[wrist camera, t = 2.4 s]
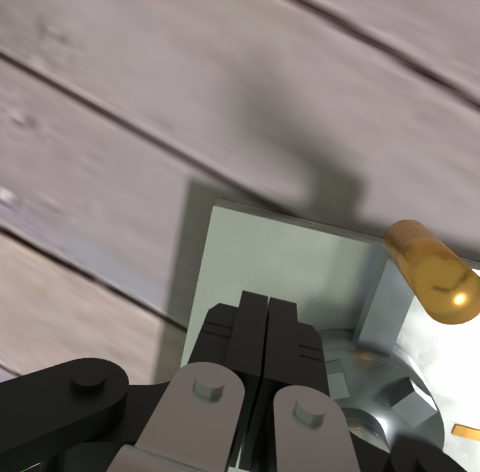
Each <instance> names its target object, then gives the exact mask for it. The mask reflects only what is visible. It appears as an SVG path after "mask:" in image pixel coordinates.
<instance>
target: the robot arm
mask: <svg viewBox="0 0 480 472" xmlns="http://www.w3.org/2000/svg"><path fill="white" fill-rule="evenodd" d="M324 362H325V358H324V353H323V345H322V338H321V337H320V335H319V334H318V333H317V331H316V330H315V329H314V327H313V326H312V325H308V324H304V323H300V322H298V320H297V303H294V302H290V301H286V300H282V299H278V298H273V297H270V299H269V302H268V296H265V295H261V294H257V293H253V292H249V291H245V290H242V294H241V298H240V303H239V307H235V306H231V305H227V304H223V303H218V304H217V305H215V306H214V307H212V308H210V309H209V310H208V312H207V314H206V317H205V320H204V323H203V325H202V327H201V330H200V332H199V335H198V337H197V340H196V342H195V345H194V348H193V350H192V353H191V355H190V358H189V360H188V363H187V365H185V366H183V367H181V368H180V369H179V370H178V371H177V372H176V373H175V374H174V376H173V378H172V380H171V381H168V382H166V383H162V384H156V385H129V380H128V376H127V374H126V373H125V371H124V370H123V369H122V368H121V367H120V366H118V365H117V364H115V363H113V362H111V361H108V360H104V359H99V358H81V359H75V360H72V361H68V362H65V363H62V364H59V365H55V366H52V367H49V368H46V369H43V370H40V371H36V372H33V373H30V374H27V375H24V376H20V377H17V378H14V379H11V380H8V381H5V382H1V383H0V472H21V471H23V470H25V469H27V468H29V467H31V466H33V465H36V464H38V463H40V464H38V465H36V466H34V467H32V468H30V469H28V470H25V471H23V472H228V469H229V467H233V468H235V467H236V463H237V459H238V456H239V452H240V448H241V452H240V460H239V467H238V469H241V470H245V471H249V472H467V471H466V470H465V469H464V468H463V467H462V466H460V465H459V464H458V463H457V462H456V461H455V460H453V459H452V458H451V457H450V456H449V455H447V454H446V453H444V452H443V451H441V450H439V449H438V448H436V447H434V446H432V445H429V444H427V443H424V442H421V441H417V440H402V441H399V442H397V443H395V444H394V446H393V447H392V449H391V451H390V453H388V452H386V451H384V450H382V449H380V448H378V447H376V446H374V445H372V444H370V443H368V442H366V441H365V440H363V439H361V438H359V437H358V436H356V435H355V434H353V433H352V432H351V431H350V430H349V429H348V426H347V422H346V418H345V416H344V413H343V412H342V410H341V408H340V407H339V406H338V405H337V404H336V403H335V402H334V401H333V400H332V399H331V398H330V392H329V386H328V379H327V372H326V365H325V363H324Z"/></svg>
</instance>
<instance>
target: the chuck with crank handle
mask: <svg viewBox="0 0 480 472" xmlns="http://www.w3.org/2000/svg"><path fill="white" fill-rule="evenodd" d="M384 247H385V248H384V251H383V253H382V256H381V259H380V262H379V265H378V267H377V270H376V273H375V276H374V278H373V281H372V284H371V287H370V290H369V292H368V295H367V298H366V301H365V304H364V306H363V309H362V312H361V315H360V317H359V320H358V323H357V326H356V329H347V328H336V329H326V330H319V331H317V333H318V334H319V335H320V337H321V338H322V345H323V353H324V358H325V362H324V363H325V365H326V372H327V379H328V386H329V392H330V398H331V399H332V400H333V401H334V402H335V403H336V404H337V405H338V406H339V407H340V408H341V410H342V412H343V413H344V416H345V418H346V422H347V426H348V429H349V430H350V431H351V432H352V433H353V434H355V435H356V436H358V437H359V438H361V439H363V440H365V441H366V442H368V443H370V444H372V445H374V446H376V447H378V448H380V449H382V450H384V451H386V452H388V453H390V451H391V449H392V447H393V446H394V444H395V443H397V442H399V441H402V440H417V441H421V442H424V443H427V444H429V445H432V446H434V447H436V448H438V449H439V450H441V451H443V447H444V440H445V430H444V423H443V419H442V416H441V413H440V411H439V409H438V407H437V405H436V403H435V401H434V398H433V396H432V394H431V392H430V390H429V388H428V386H427V384H426V382H425V380H424V378H423V376H422V374H421V372H420V370H419V368H418V366H417V365H416V364H415V362H414V361H413V359H412V358H411V357H410V356H409V355H408V354H407V353H406V352H405V351H404V350H402V349H401V348H400V347H399V346H397V345H396V344H395V343H396V340H397V338H398V335H399V333H400V330H401V328H402V325H403V323H404V320H405V318H406V315H407V313H408V310H409V308H410V305H411V303H412V300H413V298H414V295H415V296H416V297H417V299H418V300H419V302H420V303H421V305H422V306H423V308H424V309H425V311H426V313H427V314H428V315H429V316H430V317H431V318H432V319H433V320H435V321H437V322H439V323H442V324H446V325H459V324H463V323H466V322H469V321H471V320H472V319H474V318H475V317H477V316H478V315H479V314H480V276H479V275H478V274H477V273H476V272H474V271H473V270H472V269H471V268H470V267H469V266H468V265H467V264H466V263H465V262H463V261H462V260H461V259H460V258H459V257H458V256H457V255H456V254H455V253H454V252H452V251H451V250H450V249H449V248H448V247H447V246H446V245H445V244H444V243H443V242H441V241H440V240H439V239H438V238H437V237H436V236H435V235H434V234H433V233H432V232H430V231H429V230H428V229H427V228H426V227H425V226H424V225H423V224H421V223H420V222H418V221H415V220H402V221H399V222H397V223H395V224H394V225H392V226H391V227H390V228H389V229H388V231H387V232H386V234H385V237H384Z"/></svg>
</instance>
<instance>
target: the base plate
mask: <svg viewBox="0 0 480 472" xmlns="http://www.w3.org/2000/svg"><path fill="white" fill-rule="evenodd" d="M384 248H385V247H384V238H380V237H376V236H372V235H368V234H364V233H360V232H356V231H352V230H347V229H343V228H339V227H335V226H331V225H327V224H323V223H319V222H315V221H310V220H306V219H302V218H298V217H294V216H290V215H286V214H282V213H278V212H273V211H269V210H265V209H261V208H257V207H253V206H249V205H245V204H241V203H236V202H232V201H228V200H224V199H220V198H218V200H217V201H216V202H215V204H214V205H213V209H212V214H211V218H210V223H209V228H208V233H207V238H206V243H205V248H204V253H203V258H202V263H201V268H200V272H199V277H198V282H197V287H196V292H195V297H194V302H193V307H192V312H191V317H190V321H189V326H188V331H187V336H186V341H185V346H184V351H183V356H182V361H181V366H180V368H181V367H183V366H185V365H187V363H188V360H189V358H190V355H191V353H192V350H193V348H194V345H195V342H196V340H197V337H198V335H199V332H200V330H201V327H202V325H203V323H204V320H205V317H206V314H207V312H208V310H209V309H210V308H212V307H214V306H215V305H217V304H218V303H223V304H227V305H231V306H235V307H239V303H240V298H241V294H242V290H245V291H249V292H253V293H257V294H261V295H265V296H268V302H269V299H270V297H273V298H278V299H282V300H286V301H290V302H294V303H297V320H298V322H300V323H304V324H308V325H312V326H313V327H314V329H315V330H316V331H319V330H326V329H336V328H347V329H356V326H357V323H358V320H359V317H360V315H361V312H362V309H363V306H364V304H365V301H366V298H367V295H368V292H369V290H370V287H371V284H372V281H373V278H374V276H375V273H376V270H377V267H378V265H379V262H380V259H381V256H382V253H383V251H384ZM459 258H460V259H461V260H462V261H463V262H465V263H466V264H467V265H468V266H469V267H470V268H471V269H472V270H473V271H474V272H476V273H477V274H478V275H479V276H480V262H479V261H475V260H471V259H467V258H462V257H459ZM395 344H396V345H397V346H399V347H400V348H401V349H402V350H404V351H405V352H406V353H407V354H408V355H409V356H410V357H411V358H412V359H413V361H414V362H415V364H416V365H417V366H418V368H419V370H420V372H421V374H422V376H423V378H424V380H425V382H426V384H427V386H428V388H429V390H430V392H431V394H432V396H433V398H434V401H435V403H436V405H437V407H438V409H439V411H440V413H441V416H442V419H443V423H444V430H445V440H444V447H443V452H444V453H446V454H447V455H449V456H450V457H451V458H452V459H453V460H455V461H456V462H457V463H458V464H459V465H460V466H462V467H463V468H464V469H465V470H466V471H467V472H480V314H479V315H478V316H477V317H475V318H474V319H472V320H471V321H469V322H466V323H463V324H459V325H446V324H442V323H439V322H437V321H435V320H433V319H432V318H431V317H430V316H429V315H428V314H427V313H426V311H425V309H424V308H423V306H422V305H421V303H420V302H419V300H418V299H417V297H416V296H415V295H414V298H413V300H412V303H411V305H410V308H409V310H408V313H407V315H406V318H405V320H404V323H403V325H402V328H401V330H400V333H399V335H398V338H397V340H396V343H395ZM240 452H241V448H240ZM240 452H239V456H238V459H237V463H236V467H235V468H233V467H229V469H228V472H249V471H245V470H241V469H238V467H239V460H240Z"/></svg>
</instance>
